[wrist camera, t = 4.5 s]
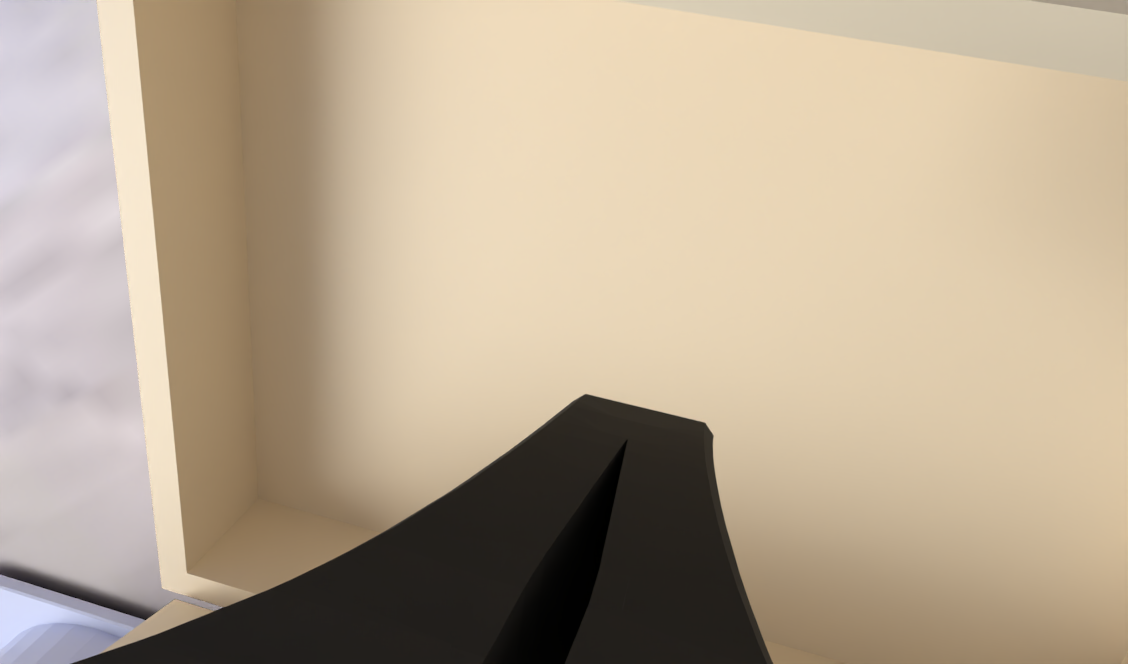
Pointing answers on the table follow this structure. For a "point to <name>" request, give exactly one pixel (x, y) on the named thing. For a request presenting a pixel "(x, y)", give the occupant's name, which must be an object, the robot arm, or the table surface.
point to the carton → (637, 297)
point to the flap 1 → (162, 622)
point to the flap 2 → (955, 27)
